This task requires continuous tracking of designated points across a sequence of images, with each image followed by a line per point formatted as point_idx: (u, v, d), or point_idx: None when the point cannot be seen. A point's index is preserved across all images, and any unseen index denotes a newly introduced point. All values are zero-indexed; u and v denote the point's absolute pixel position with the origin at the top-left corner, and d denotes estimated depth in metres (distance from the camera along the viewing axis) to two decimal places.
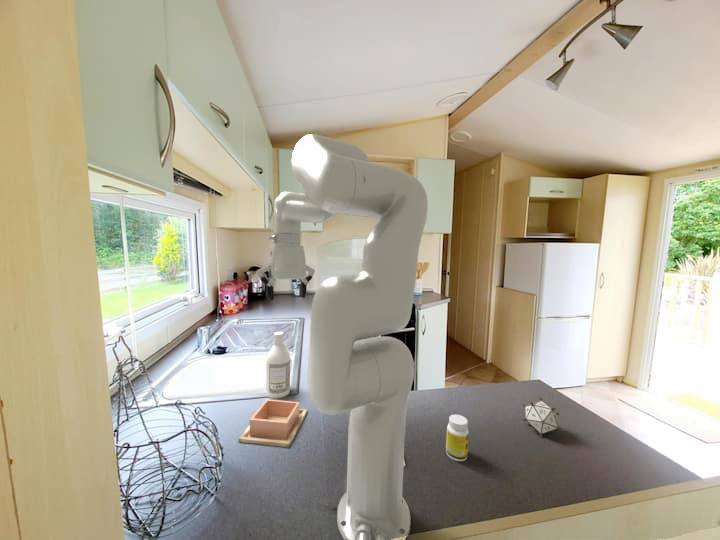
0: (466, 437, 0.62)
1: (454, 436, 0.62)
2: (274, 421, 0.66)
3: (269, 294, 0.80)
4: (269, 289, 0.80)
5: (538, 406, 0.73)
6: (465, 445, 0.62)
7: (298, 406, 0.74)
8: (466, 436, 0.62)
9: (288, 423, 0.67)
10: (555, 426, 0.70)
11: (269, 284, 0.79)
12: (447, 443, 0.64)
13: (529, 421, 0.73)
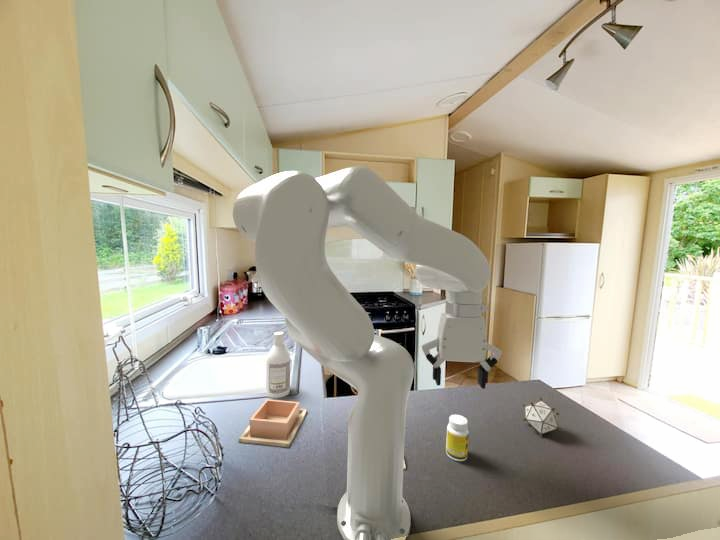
0: (466, 437, 0.62)
1: (454, 436, 0.62)
2: (274, 421, 0.66)
3: None
4: None
5: (538, 406, 0.72)
6: (465, 445, 0.62)
7: (298, 406, 0.74)
8: (466, 436, 0.62)
9: (288, 423, 0.67)
10: (555, 426, 0.70)
11: None
12: (447, 443, 0.64)
13: (529, 421, 0.73)
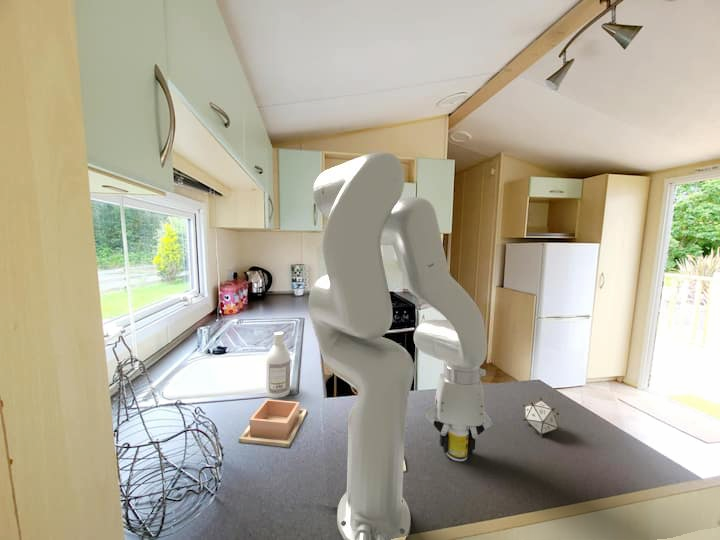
0: (466, 437, 0.62)
1: (454, 436, 0.62)
2: (274, 421, 0.66)
3: None
4: None
5: (538, 406, 0.73)
6: (465, 445, 0.62)
7: (298, 406, 0.74)
8: (466, 436, 0.62)
9: (288, 423, 0.67)
10: (555, 426, 0.70)
11: None
12: None
13: (529, 421, 0.73)
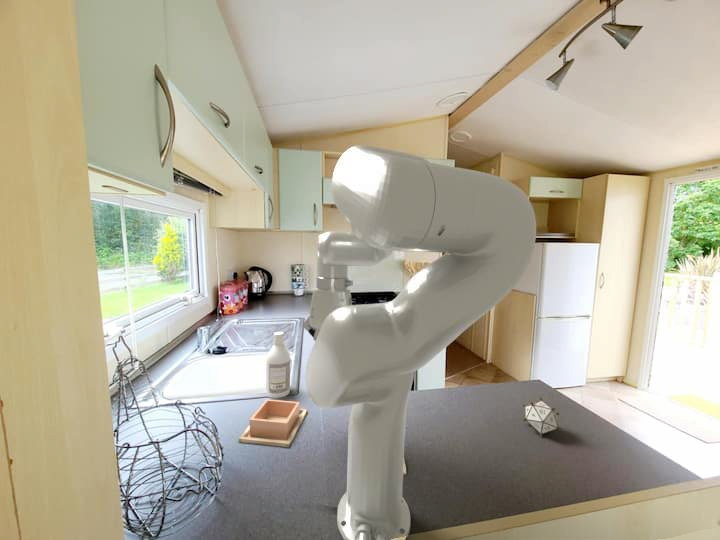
0: None
1: None
2: (274, 421, 0.66)
3: None
4: None
5: (538, 406, 0.72)
6: None
7: (298, 406, 0.74)
8: None
9: (288, 423, 0.67)
10: (555, 426, 0.70)
11: None
12: None
13: (529, 421, 0.73)
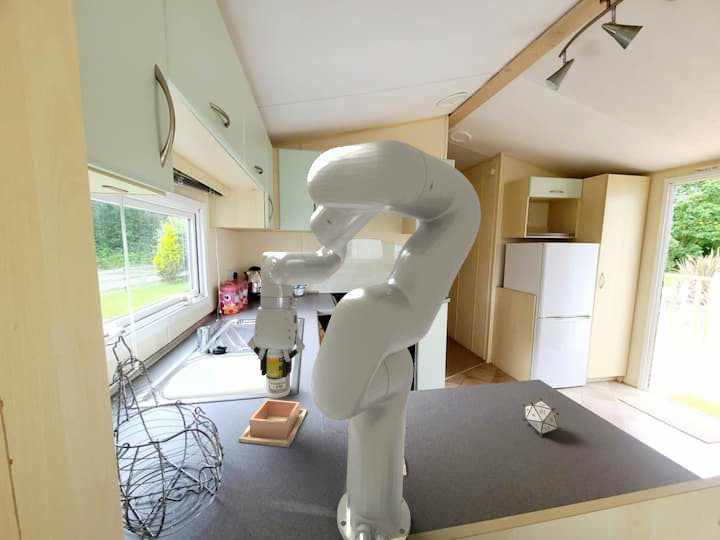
0: (279, 359, 0.68)
1: (268, 358, 0.68)
2: (274, 421, 0.66)
3: None
4: None
5: (538, 406, 0.72)
6: (278, 366, 0.68)
7: (298, 406, 0.74)
8: (278, 358, 0.68)
9: (288, 423, 0.67)
10: (555, 426, 0.70)
11: None
12: None
13: (529, 421, 0.73)
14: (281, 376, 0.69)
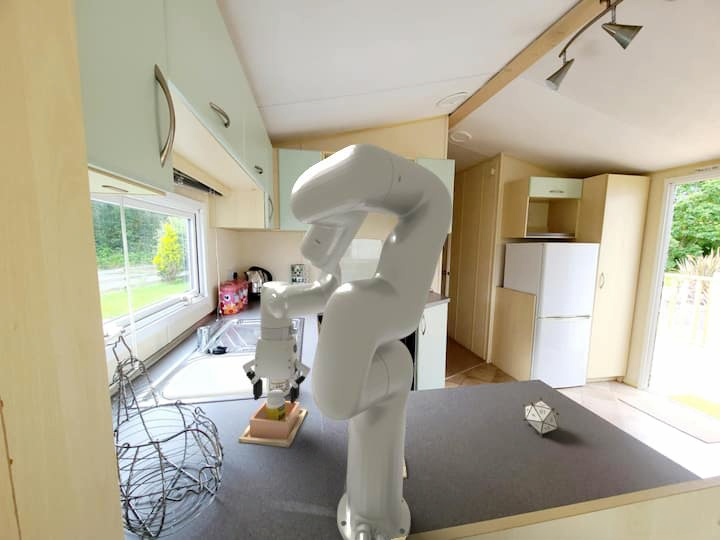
0: (278, 409, 0.68)
1: (267, 409, 0.68)
2: (274, 421, 0.66)
3: None
4: None
5: (538, 406, 0.73)
6: (278, 416, 0.69)
7: (298, 406, 0.74)
8: (278, 408, 0.68)
9: (288, 423, 0.67)
10: (555, 426, 0.70)
11: None
12: None
13: (529, 421, 0.73)
14: None
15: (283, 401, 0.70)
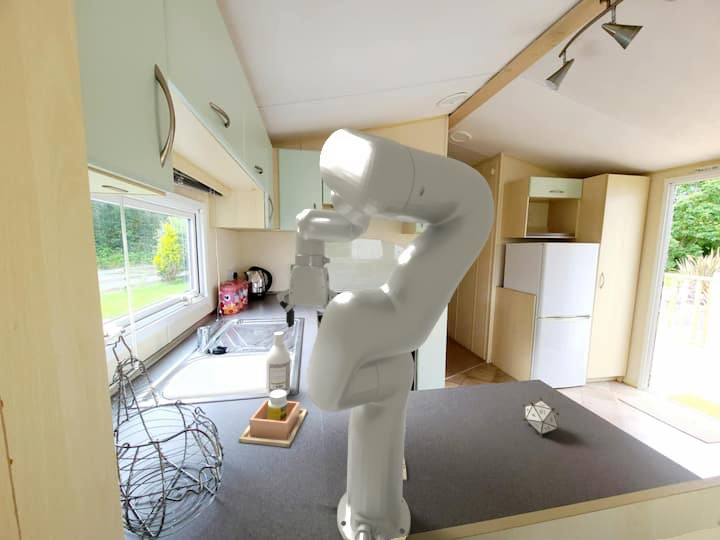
0: (281, 409, 0.69)
1: (270, 408, 0.69)
2: (274, 421, 0.66)
3: None
4: None
5: (538, 406, 0.73)
6: (280, 416, 0.69)
7: (298, 406, 0.74)
8: (280, 408, 0.69)
9: (288, 423, 0.67)
10: (555, 426, 0.70)
11: None
12: (267, 415, 0.70)
13: (529, 421, 0.73)
14: None
15: (285, 401, 0.70)
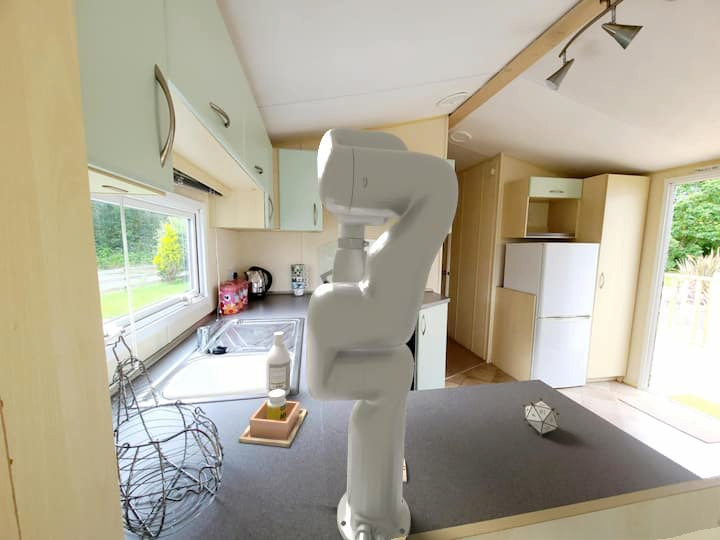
0: (280, 408, 0.69)
1: (269, 408, 0.69)
2: (274, 421, 0.66)
3: None
4: None
5: (538, 406, 0.72)
6: (279, 415, 0.69)
7: (298, 406, 0.74)
8: (280, 407, 0.69)
9: (288, 423, 0.67)
10: (555, 426, 0.70)
11: None
12: (267, 415, 0.70)
13: (529, 421, 0.73)
14: None
15: (285, 400, 0.71)
